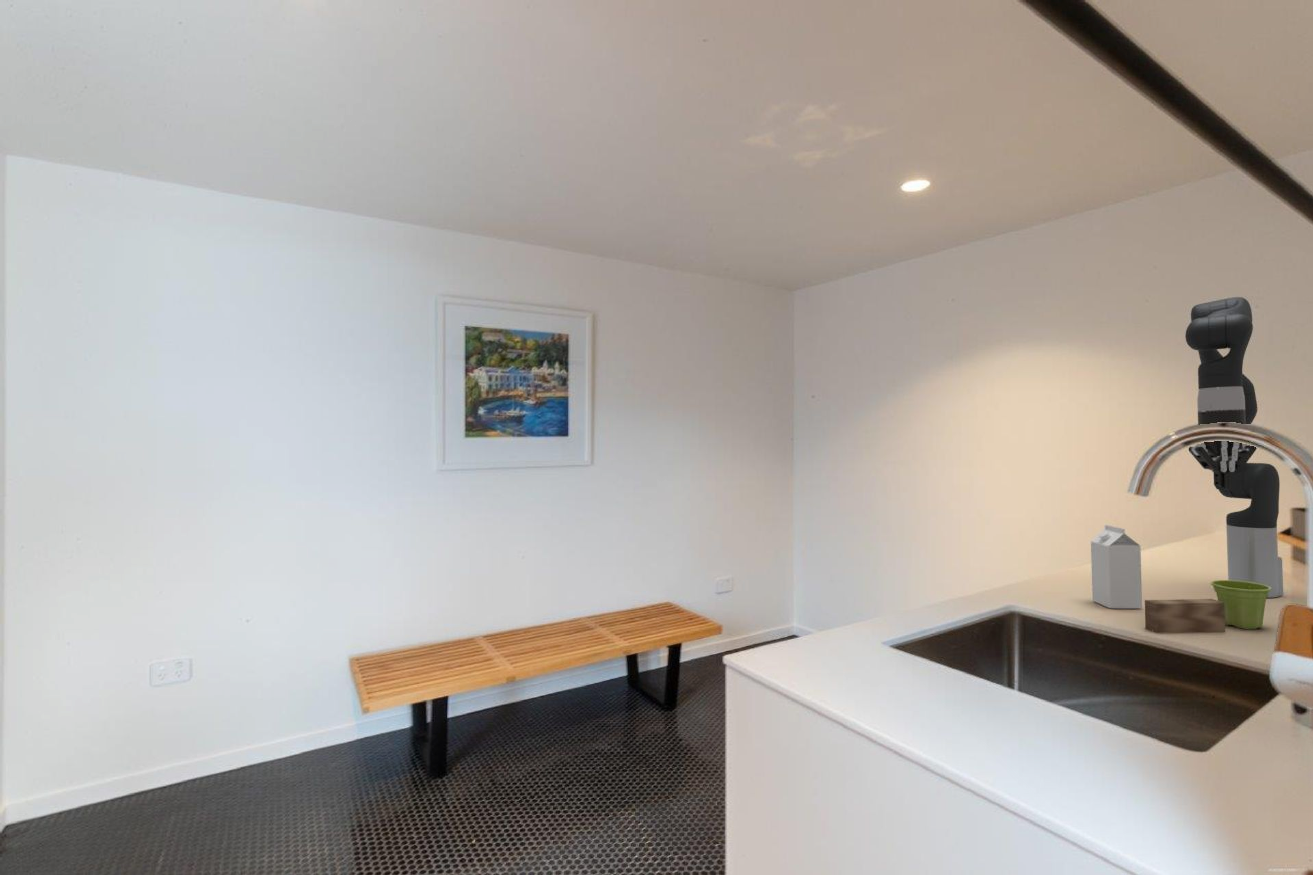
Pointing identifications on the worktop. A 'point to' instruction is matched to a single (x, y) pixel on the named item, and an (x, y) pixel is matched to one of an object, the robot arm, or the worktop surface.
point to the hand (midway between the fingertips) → (1223, 489)
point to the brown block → (1185, 615)
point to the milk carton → (1116, 569)
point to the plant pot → (1242, 602)
